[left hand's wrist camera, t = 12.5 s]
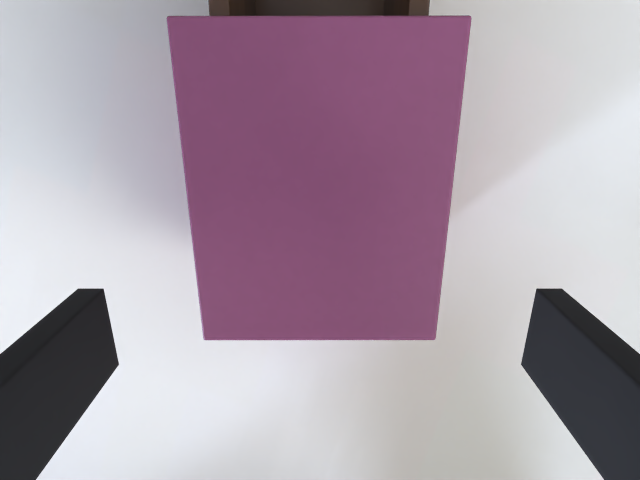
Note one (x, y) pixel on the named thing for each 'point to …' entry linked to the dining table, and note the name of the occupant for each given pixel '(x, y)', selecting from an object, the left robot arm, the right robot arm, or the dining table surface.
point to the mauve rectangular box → (319, 170)
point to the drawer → (319, 7)
